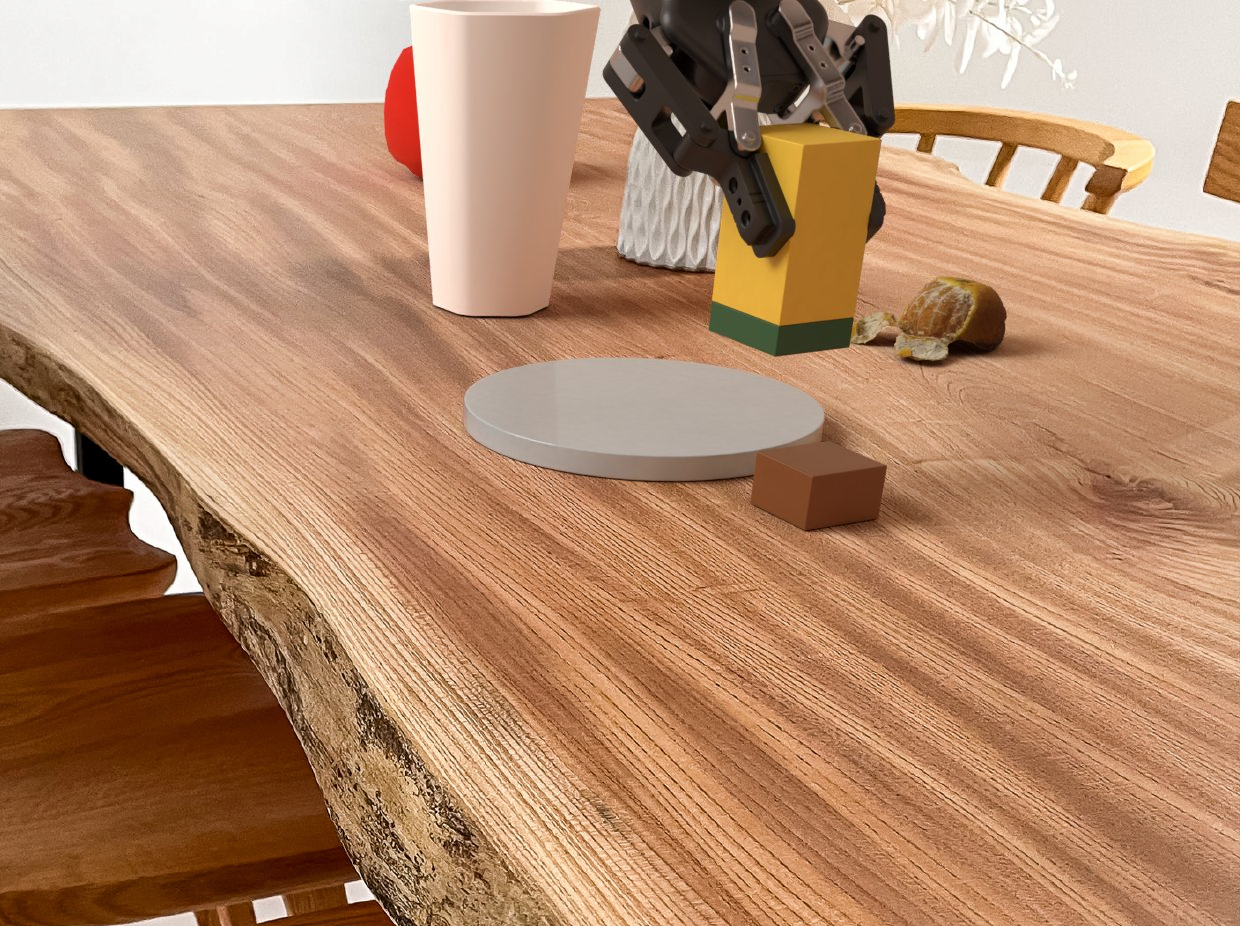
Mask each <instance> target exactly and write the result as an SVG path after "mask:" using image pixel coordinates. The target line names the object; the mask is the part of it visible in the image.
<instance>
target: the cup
mask: <svg viewBox="0 0 1240 926" xmlns="http://www.w3.org/2000/svg"><path fill="white" fill-rule="evenodd" d="M408 7H409V18H410V31H411V32H410V33H411V43H412V44H411V46H413V58H414V71H415V83H416V96H417V108H418V121H419V133H420V146H421V158H422V171H423V179H422V181H423V195H424V207H425V208H424V209H425V219H426V230H427V231H426V233H427V245H428V246H427V247H428V257H429V270H430V282H431V294H432V295H431V296H432V304H433V306H436V307H439V308H441V309H444V310H446V311H449V312H452V313H453V314H457V315H462V316H463V315H464V316H470V317H521V316H527V315H531V314H533V313H536V312H537V311H540V310H542V309H544V308H546V307H548V306H549V303H550V299H551V293H552V286H553V280H554V276H555V270H556V264H557V258H558V254H559V248H560V241H561V236H562V230H563V225H564V219H565V213H566V209H567V203H568V197H569V191H570V185H571V180H572V174H573V168H574V163H575V157H576V151H577V147H578V146H577V145H578V139H579V135H580V129H581V125H582V124H581V123H582V117H583V112H584V106H585V101H586V94H587V90H588V83H589V79H590V78H589V77H590V72H591V67H592V62H593V55H594V51H595V45H596V38H597V33H598V29H599V28H598V27H599V23H600V22H599V21H600V17H601V16H600V15H601V11H602V9H601V7H600V6H599V5H596V4H589V3H581V2H573V1H565V0H432V1H425V2H418V3H417V2H416V3H411V4H410V5H409V6H408Z"/></svg>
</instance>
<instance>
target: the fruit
mask: <svg viewBox="0 0 1240 926" xmlns="http://www.w3.org/2000/svg"><path fill="white" fill-rule="evenodd" d="M1007 314H1008V313H1007V310H1006V307H1005V306H1004V302H1003V299H1002V298H1001V296H1000V295H999V294H998V292H997V291H996V290H995V288H993V287H992V286H989V285H987V284H985V283H982V282H979V281H976V280H974V279H969V278H968V279H967V278H964V277H956V276H938V277H935V278H933V279H932V280H930V281H929V282H927V283H926V284H925V285H924V286H923V288H922V289H921V290H920V291H918V292H917V294H916V295H915V296H914V297H913V298H912V299H911V300H910V302H909V303H908V304H907V306H906V307H905V308H904V310H903V313H902V315H901V316H900V318H896V316H895V315H894V313H893V312H892V313H891V312H889V313H888V312H885V311H878V312H877V311H876V312H872V313H870V314H868V315H866V316H864V317H860V318H857V320H855V321H854V322H853V328H852V334H851V340H850V342H852V343H854V344H864V345H865V344H866V343H867V342H869V341H872V340H874V339H875V338H876V337H877V336H878V335H879V334H880V333H881V332H882V331H884V330H885V329H887V328H888V327H897V328H899V329H900V331H902V332H903V333H898V335H897V336H896V338H895V343H894V345H893V346H894V349H895V354H896V356H897V357H898V356H899V357H902V358H907V357H908V358H910V359H912V360H914V361H926V360H929V361H930V362H934V361H938V360H945V359H947V358H948V357H949V348H948V346H949V344H952V343H953V342H955V341H958V340H962V341H966V342H969V343H972V344H974V345H975V347H976V348H979V349H980V350H986V351H988V352H991V351H994V350H996V349H997V348H998V347H999V346H1000V345H1001V344H1002V342H1003V340H1004V338H1005V334H1006V329H1007V328H1006V321H1007V318H1008V315H1007Z"/></svg>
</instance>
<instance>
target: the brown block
mask: <svg viewBox="0 0 1240 926" xmlns="http://www.w3.org/2000/svg"><path fill="white" fill-rule="evenodd" d="M887 469H888V465H886V464H884V463H882V462H880V461H878V460H875V459H872V458H870V457H868V456H866V455H864V454H861V453H859V452H857V451H854V450H852V449H850V448H847V447H844V446H843V445H840V444H838V443H836V442H833V441H831V440H827V441H821V442H818V443H811V444H804V445H797V446H790V447H783V448H776V449H769V450H762V451H757V456H756V463H755V471H754V475H753V479H752V485H751V494H750V502H749V503H750V505H753V506H755V507H757V508H759V509H761V510H763V511H765V512H767V513H769V514H771V515H773V516H775V517H777V518H778V519H781V520H783V521H785V522H786V523H789V524H791V525H793V526H795V527H797V528H798V529H801V530H803V531H810V530H816V529H817V530H818V529H822V528H828V527H835V526H841V525H848V524H853V523H859V522H865V521H871V520H878V519H879V515H880V510H881V504H882V499H883V493H884V487H885V481H886V476H887V471H888V470H887Z"/></svg>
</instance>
